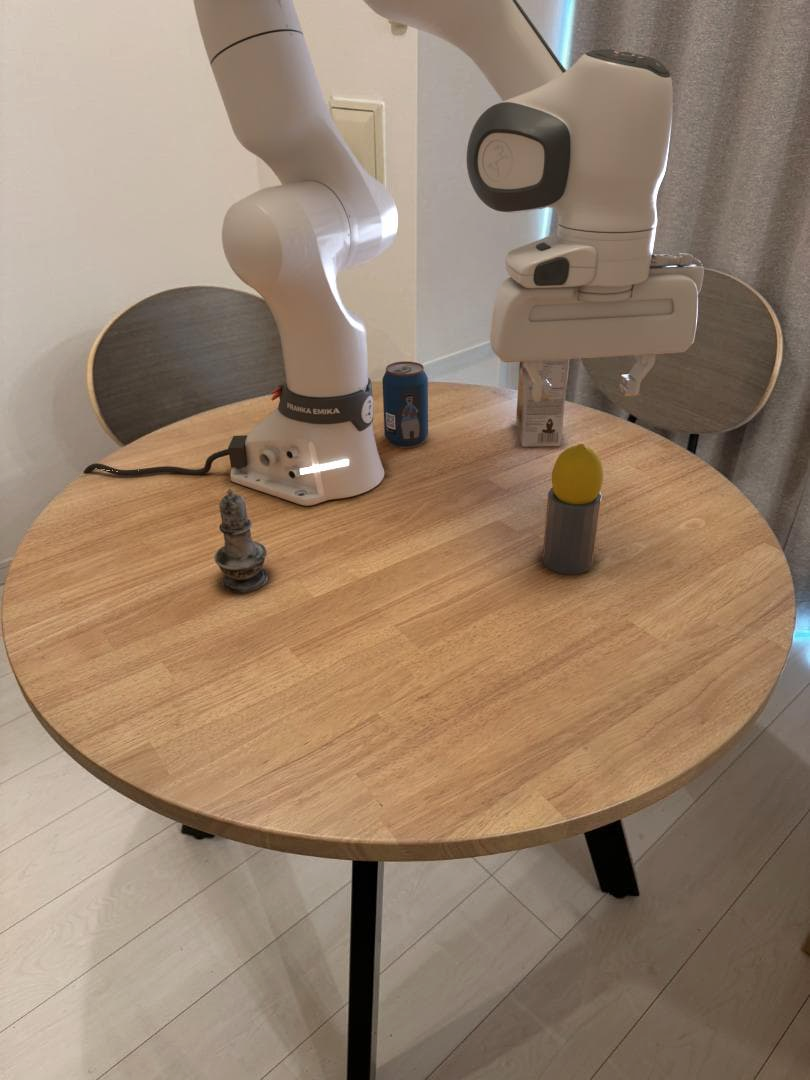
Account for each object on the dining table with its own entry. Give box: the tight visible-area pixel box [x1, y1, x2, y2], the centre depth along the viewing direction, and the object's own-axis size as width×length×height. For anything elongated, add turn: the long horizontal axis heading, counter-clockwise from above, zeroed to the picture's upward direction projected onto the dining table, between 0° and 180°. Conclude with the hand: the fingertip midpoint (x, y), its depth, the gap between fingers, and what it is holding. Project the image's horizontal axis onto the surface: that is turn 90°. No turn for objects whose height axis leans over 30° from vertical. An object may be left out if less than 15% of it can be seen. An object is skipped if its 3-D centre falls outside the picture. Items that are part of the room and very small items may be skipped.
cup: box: [542, 486, 603, 576], centre depth 85 cm, size 6×6×9 cm
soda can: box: [381, 361, 429, 449], centre depth 114 cm, size 7×7×12 cm
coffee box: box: [515, 359, 570, 448], centre depth 114 cm, size 9×6×16 cm
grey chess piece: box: [213, 488, 269, 594], centre depth 82 cm, size 6×6×12 cm
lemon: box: [551, 443, 604, 505], centre depth 81 cm, size 6×6×8 cm
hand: (584, 396), depth 77 cm, fingers open, 8 cm apart
